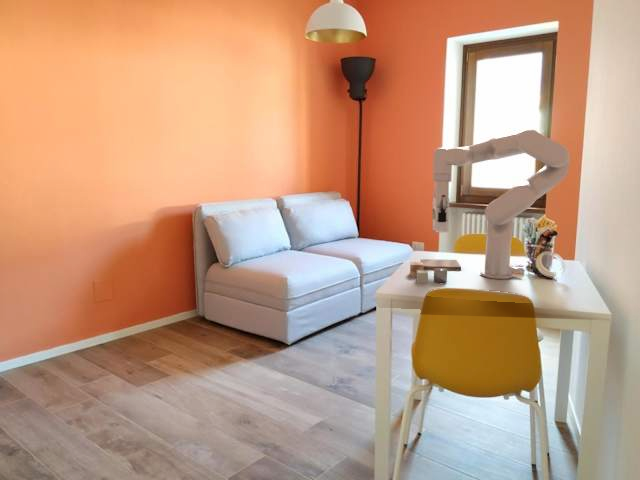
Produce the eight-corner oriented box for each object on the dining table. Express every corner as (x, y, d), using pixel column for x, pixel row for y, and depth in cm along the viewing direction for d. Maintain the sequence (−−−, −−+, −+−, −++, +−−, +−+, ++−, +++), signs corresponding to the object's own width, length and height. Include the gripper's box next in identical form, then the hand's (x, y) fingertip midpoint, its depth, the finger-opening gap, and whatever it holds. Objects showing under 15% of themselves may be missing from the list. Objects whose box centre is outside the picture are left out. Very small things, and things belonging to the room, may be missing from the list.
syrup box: (448, 232, 217) (450, 197, 214) (434, 232, 217) (436, 197, 214) (445, 230, 223) (446, 196, 220) (431, 230, 222) (432, 196, 220)
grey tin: (445, 280, 206) (446, 268, 205) (447, 283, 201) (448, 271, 200) (433, 280, 206) (433, 267, 206) (434, 283, 202) (434, 270, 201)
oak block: (422, 274, 217) (422, 262, 216) (423, 277, 212) (423, 265, 211) (409, 273, 217) (410, 262, 216) (410, 276, 212) (410, 264, 211)
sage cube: (426, 280, 206) (427, 270, 205) (427, 283, 202) (428, 273, 202) (416, 280, 207) (416, 270, 206) (417, 282, 203) (417, 272, 202)
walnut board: (456, 263, 236) (456, 259, 235) (461, 270, 222) (461, 266, 222) (420, 262, 237) (420, 259, 237) (423, 269, 224) (423, 266, 224)
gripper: (429, 176, 224) (428, 218, 228) (436, 179, 207) (434, 223, 211) (447, 176, 224) (445, 218, 227) (455, 179, 207) (453, 224, 210)
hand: (440, 220), depth 219 cm, fingers closed on syrup box, 6 cm apart
